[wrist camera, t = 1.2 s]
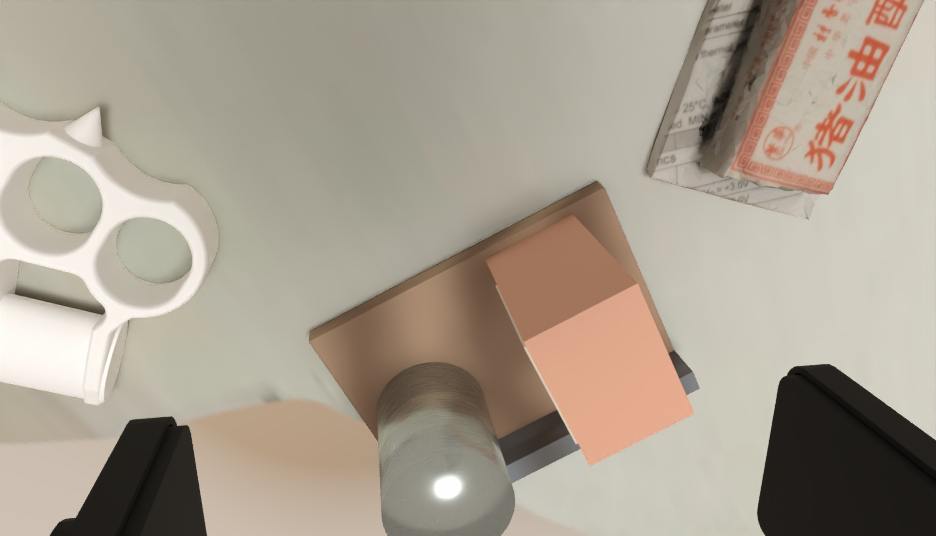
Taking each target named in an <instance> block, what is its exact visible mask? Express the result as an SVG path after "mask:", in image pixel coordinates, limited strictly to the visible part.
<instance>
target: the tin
mask: <svg viewBox="0 0 936 536" xmlns="http://www.w3.org/2000/svg"><path fill="white" fill-rule="evenodd" d="M377 424H378V446H379V465H380V466H379V468H380V489H381V512H382V522H383V526H384V528H385V531H386V533H387V535H388V536H501V535H502V533H503V532H504V531H505V529H506V528H507V526H508V525H509V523H510V520H511V518H512V515H513V512H514V507H515V496H514V490H513V487H512V484H511V481H510V478H509V474H508V471H507V468H506V465H505V461H504V458H503V455H502V452H501V448H500V445H499V442H498V439H497V435H496V432H495V429H494V426H493V423H492V419H491V416H490V413H489V410H488V406H487V403H486V400H485V397H484V393H483V390H482V388H481V386H480V384H479V383H478V382H477V380H476V379H475V378H474V377H473V376H472V375H471V374H470V373H469V372H467V371H466V370H464V369H462V368H460V367H458V366H456V365H453V364H449V363H443V362H426V363H421V364H417V365H414V366H411V367H409V368H407V369H405V370H403V371H402V372H400V373H399V374H397V375H396V376H395V377H393V378H392V379H391V380H390V381H389V383H388V384H387V385H386V386H385V388H384V390H383V391H382V393H381V395H380V398H379V401H378V405H377Z"/></svg>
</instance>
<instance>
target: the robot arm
mask: <svg viewBox="0 0 936 536" xmlns="http://www.w3.org/2000/svg"><path fill="white" fill-rule="evenodd" d="M757 515H758V521H759V525H760V527H761V529H762V531H763V533H764V534H765V536H936V440H935V439H933V438H932V437H930V436H929V435H928V434H926V433H925V432H924V431H922V430H921V429H919V428H918V427H917V426H915V425H914V424H913V423H911V422H910V421H908V420H907V419H906V418H904V417H903V416H902V415H900V414H899V413H897V412H896V411H895V410H893V409H892V408H891V407H889V406H888V405H886V404H885V403H884V402H882V401H881V400H880V399H878V398H877V397H875V396H874V395H873V394H871V393H870V392H869V391H867V390H866V389H864V388H863V387H862V386H860V385H859V384H858V383H856V382H855V381H853V380H852V379H851V378H849V377H848V376H847V375H845V374H844V373H842V372H841V371H840V370H838V369H837V368H836V367H834V366H832V365H830V364H821V365H809V366H796V367H793V368H792V369H791V370H790V371H789V372H788V374H787V376H785V377H783V378H782V379H781V380H780V383H779V386H778V392H777V398H776V404H775V409H774V415H773V421H772V427H771V433H770V439H769V445H768V450H767V456H766V462H765V468H764V474H763V480H762V486H761V491H760V497H759V503H758V510H757ZM50 536H207V533H206V527H205V521H204V514H203V508H202V502H201V495H200V490H199V482H198V476H197V470H196V463H195V457H194V451H193V444H192V438H191V433H190V429H189V427H188V426H187V425H184V426H177V424H176V421H175V419H174V418H173V417H159V418H147V419H134V420H130V421H129V422H128V424H127V425H126V427H125V429H124V431H123V433H122V435H121V436H120V438H119V440H118V442H117V444H116V446H115V447H114V449H113V451H112V453H111V455H110V457H109V458H108V460H107V462H106V464H105V466H104V468H103V469H102V471H101V473H100V475H99V477H98V479H97V480H96V482H95V484H94V486H93V488H92V490H91V491H90V493H89V495H88V497H87V499H86V500H85V502H84V504H83V506H82V508H81V510H80V511H79V513H78V515H77V517H76V518H69V519H64V520H62V521H61V522H59V523H58V524H57V526H56V527H55V528H54V530H53V531H52V533H51V535H50Z"/></svg>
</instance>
